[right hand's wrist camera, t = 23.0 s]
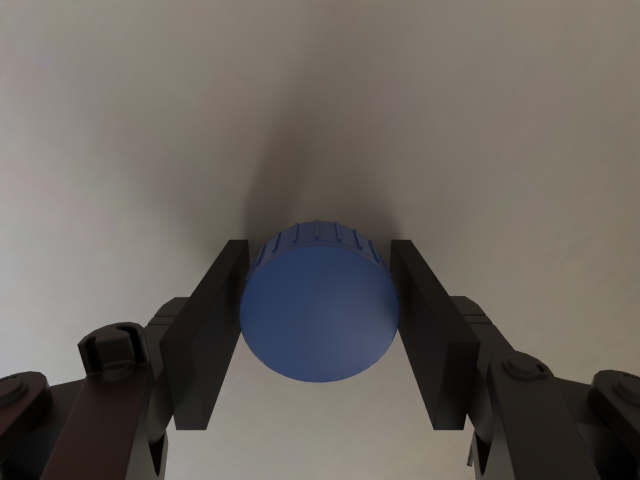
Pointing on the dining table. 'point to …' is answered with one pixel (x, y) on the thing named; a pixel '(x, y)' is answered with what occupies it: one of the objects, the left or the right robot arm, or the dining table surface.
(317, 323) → the lid
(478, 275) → the dining table surface
